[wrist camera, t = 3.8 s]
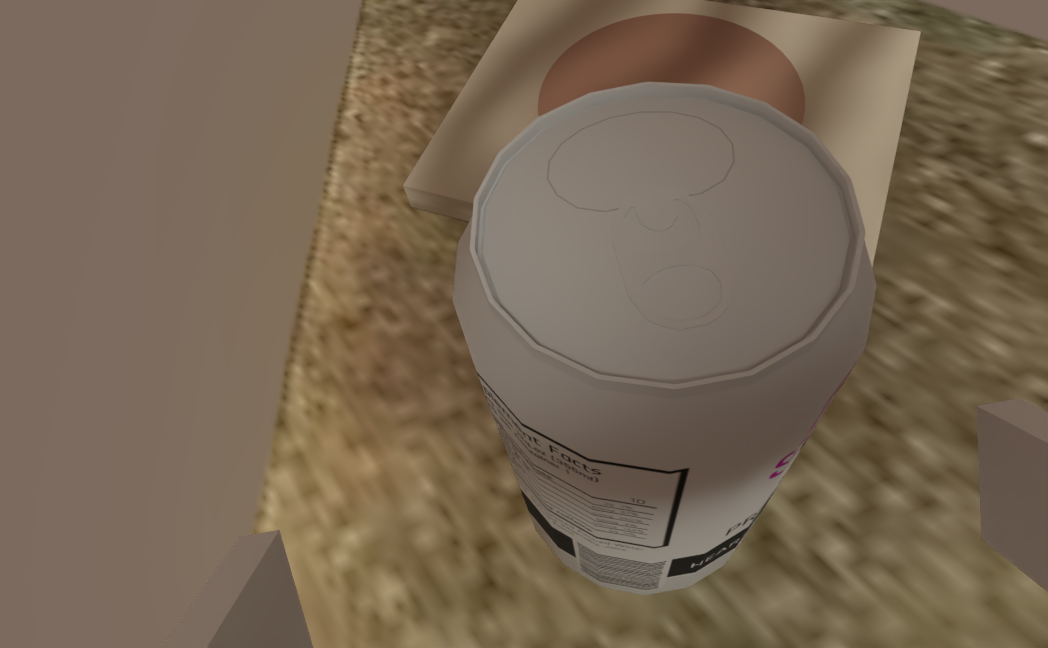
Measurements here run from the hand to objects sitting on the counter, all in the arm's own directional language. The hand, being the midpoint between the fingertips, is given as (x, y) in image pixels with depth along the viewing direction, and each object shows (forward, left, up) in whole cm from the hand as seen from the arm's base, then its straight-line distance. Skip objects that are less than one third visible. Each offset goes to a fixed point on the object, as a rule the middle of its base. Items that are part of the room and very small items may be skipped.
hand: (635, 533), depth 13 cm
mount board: (+5, -22, -12) cm, 25 cm away
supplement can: (+1, -5, -12) cm, 13 cm away
